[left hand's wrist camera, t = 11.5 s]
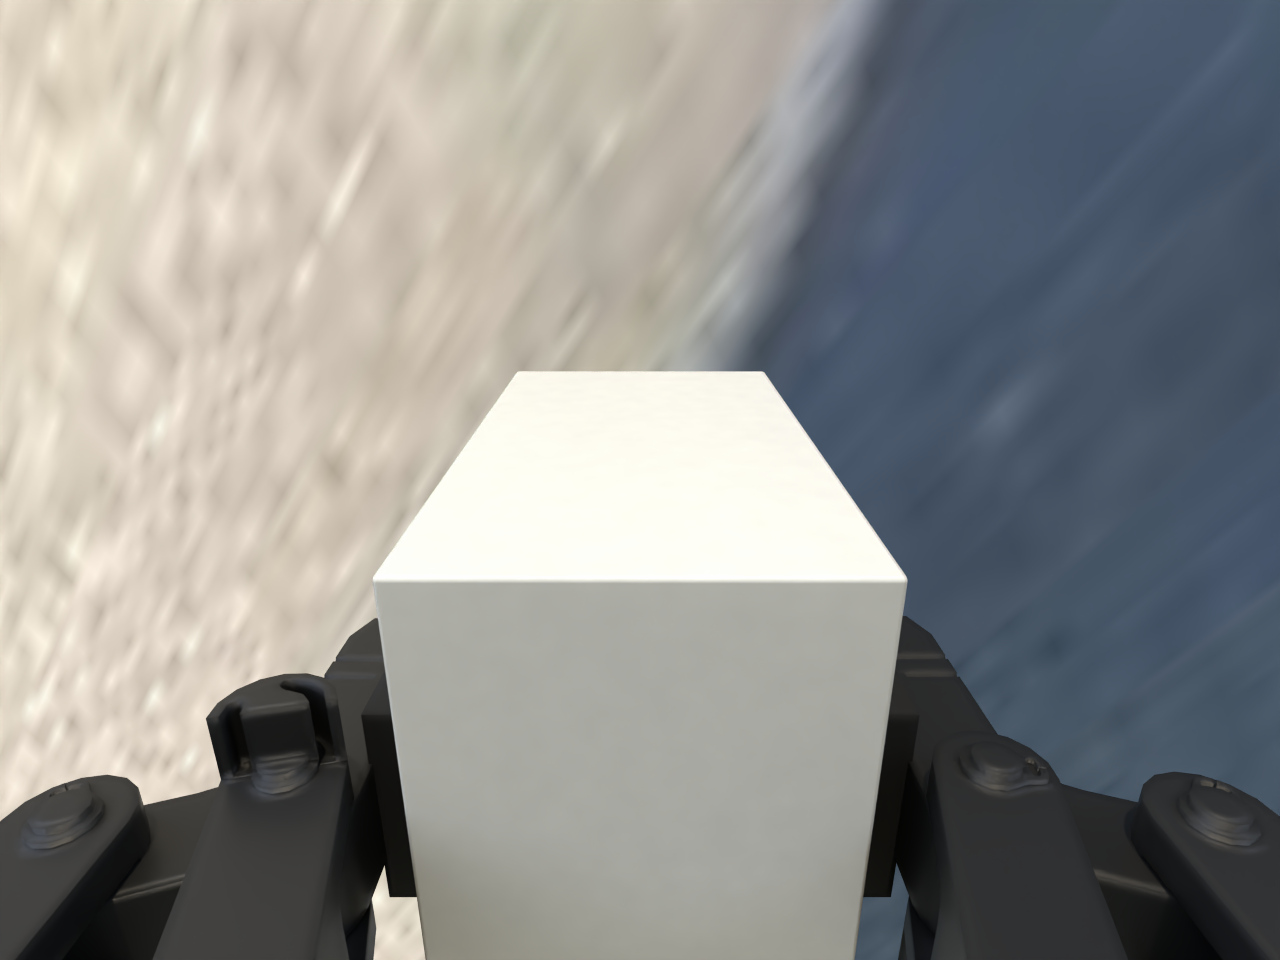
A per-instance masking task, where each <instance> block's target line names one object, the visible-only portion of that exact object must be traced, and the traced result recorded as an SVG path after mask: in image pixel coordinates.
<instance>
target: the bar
mask: <svg viewBox="0 0 1280 960" xmlns="http://www.w3.org/2000/svg"><path fill="white" fill-rule="evenodd" d="M373 587H374V594H375V601H376V608H377V615H378V622H379V630H380V637H381V644H382V651H383V658H384V665H385V672H386V680H387V687H388V694H389V701H390V708H391V715H392V722H393V729H394V737H395V744H396V751H397V758H398V765H399V772H400V779H401V787H402V794H403V801H404V808H405V815H406V822H407V829H408V837H409V844H410V851H411V858H412V865H413V872H414V879H415V886H416V894H417V901H418V908H419V915H420V922H421V929H422V936H423V944H424V951H425V958H426V960H854V958H855V951H856V944H857V936H858V929H859V922H860V915H861V908H862V901H863V894H864V887H865V880H866V872H867V865H868V858H869V851H870V844H871V837H872V830H873V823H874V815H875V808H876V801H877V794H878V787H879V780H880V773H881V766H882V759H883V751H884V744H885V737H886V730H887V723H888V716H889V709H890V702H891V694H892V687H893V680H894V673H895V666H896V659H897V652H898V645H899V638H900V630H901V623H902V616H903V609H904V602H905V595H906V588H907V578H906V576H905V574H904V573H903V571H902V570H901V568H900V567H899V565H898V564H897V563H896V561H895V560H894V558H893V557H892V555H891V554H890V553H889V551H888V550H887V548H886V547H885V545H884V544H883V543H882V541H881V540H880V538H879V537H878V535H877V534H876V532H875V531H874V530H873V528H872V527H871V525H870V524H869V522H868V521H867V520H866V518H865V517H864V515H863V514H862V512H861V511H860V509H859V508H858V507H857V505H856V504H855V502H854V501H853V499H852V498H851V497H850V495H849V494H848V492H847V491H846V489H845V488H844V486H843V485H842V484H841V482H840V481H839V479H838V478H837V476H836V475H835V474H834V472H833V471H832V469H831V468H830V466H829V465H828V464H827V462H826V461H825V459H824V458H823V456H822V455H821V453H820V452H819V451H818V449H817V448H816V446H815V445H814V443H813V442H812V441H811V439H810V438H809V436H808V435H807V433H806V432H805V430H804V429H803V428H802V426H801V425H800V423H799V422H798V420H797V419H796V418H795V416H794V415H793V413H792V412H791V410H790V409H789V408H788V406H787V405H786V403H785V402H784V400H783V399H782V397H781V396H780V395H779V393H778V392H777V390H776V389H775V387H774V386H773V385H772V383H771V382H770V380H769V379H768V377H767V376H766V374H765V373H764V372H517V373H516V375H515V376H514V377H513V379H512V380H511V382H510V383H509V384H508V386H507V387H506V389H505V390H504V392H503V393H502V394H501V396H500V397H499V399H498V400H497V402H496V403H495V404H494V406H493V407H492V409H491V410H490V412H489V413H488V414H487V416H486V417H485V419H484V420H483V421H482V423H481V424H480V426H479V427H478V429H477V430H476V431H475V433H474V434H473V436H472V437H471V439H470V440H469V441H468V443H467V444H466V446H465V447H464V449H463V450H462V451H461V453H460V454H459V456H458V457H457V459H456V460H455V461H454V463H453V464H452V466H451V467H450V468H449V470H448V471H447V473H446V474H445V476H444V477H443V478H442V480H441V481H440V483H439V484H438V486H437V487H436V488H435V490H434V491H433V493H432V494H431V496H430V497H429V498H428V500H427V501H426V503H425V504H424V506H423V507H422V508H421V510H420V511H419V513H418V514H417V515H416V517H415V518H414V520H413V521H412V523H411V524H410V525H409V527H408V528H407V530H406V531H405V533H404V534H403V535H402V537H401V538H400V540H399V541H398V543H397V544H396V545H395V547H394V548H393V550H392V551H391V552H390V554H389V555H388V557H387V558H386V560H385V561H384V562H383V564H382V565H381V567H380V568H379V570H378V571H377V572H376V574H375V575H374V577H373Z"/></svg>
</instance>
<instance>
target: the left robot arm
mask: <svg viewBox="0 0 1280 960" xmlns="http://www.w3.org/2000/svg"><path fill="white" fill-rule="evenodd" d="M956 673H957V672H956V671H955V669H954V668H953V666H952V665H951V663H950V662H949V660H948V659H945V654H944V653H943V651H942V650H941V648H940V647H939V645H938V644H937V642H936V641H935V639H934V638H933V636H932V635H931V634H930V633H929V632H928V631H926V630H925V629H923V628H922V627H921V626H919V625H918V624H916V623H915V622H914V621H912V620H911V619H909V618H908V617H907V616H902V623H901V630H900V638H899V645H898V652H897V659H896V666H895V673H894V680H893V687H892V694H891V702H890V709H889V716H888V723H887V730H886V737H885V744H884V751H883V759H882V766H881V773H880V780H879V787H878V794H877V801H876V808H875V815H874V823H873V830H872V837H871V844H870V851H869V858H868V865H867V872H866V880H865V887H864V894H863V897H891V893H892V886H893V880H894V874H895V867H896V863H897V865H898V868H899V870H900V873H901V876H902V878H903V881H904V883H905V886H906V889H907V891H908V894H909V899H908V904H907V910H906V916H905V922H904V928H903V934H902V940H901V946H900V951H899V957H898V960H1280V816H1278V815H1277V814H1276V813H1274V812H1273V811H1272V810H1270V809H1269V808H1268V807H1267V806H1265V805H1264V804H1263V803H1261V802H1260V801H1259V800H1258V799H1256V798H1254V797H1252V796H1250V795H1248V794H1246V793H1244V792H1243V791H1241V790H1239V789H1237V788H1235V787H1233V786H1231V785H1229V784H1226V783H1223V782H1221V781H1218V780H1214V779H1212V778H1208V777H1205V776H1202V775H1196V774H1188V773H1180V772H1170V773H1164V774H1158V775H1154V776H1153V777H1152V778H1151V779H1149V780H1148V781H1147V782H1146V783H1145V784H1143V788H1142V791H1141V794H1140V798H1139V801H1138V802H1133V801H1129V800H1125V799H1120V798H1116V797H1111V796H1107V795H1102V794H1098V793H1093V792H1089V791H1084V790H1081V789H1077V788H1074V787H1071V786H1067V785H1064V784H1061V783H1060V780H1059V778H1058V777H1057V775H1056V774H1055V772H1054V771H1053V769H1052V768H1051V766H1050V765H1049V763H1048V762H1047V761H1045V760H1044V759H1043V758H1042V757H1040V756H1039V755H1038V754H1037V753H1035V752H1034V751H1033V750H1032V749H1030V748H1029V747H1027V746H1025V745H1022V744H1020V743H1018V742H1016V741H1014V740H1012V739H1010V738H1008V737H1005V736H1001V735H998V734H997V733H996V731H995V730H994V728H993V727H992V725H991V724H990V722H989V721H988V719H987V718H986V716H985V715H984V713H983V712H982V710H981V709H980V707H979V706H978V704H977V703H976V701H975V700H974V698H973V697H972V695H971V694H970V692H969V691H968V689H967V687H966V686H965V684H964V683H963V681H962V680H961V678H960V677H957V675H956ZM206 721H207V725H208V729H209V733H210V737H211V741H212V745H213V749H214V753H215V757H216V761H217V765H218V769H219V773H220V777H221V782H220V784H219V787H217V788H214V789H210V790H207V791H204V792H200V793H196V794H192V795H188V796H183V797H179V798H174V799H170V800H165V801H161V802H156V803H152V804H148V805H143V802H142V799H141V795H140V792H139V789H138V787H137V786H136V785H135V784H133V783H132V782H131V781H130V780H129V779H127V778H123V777H117V776H111V775H102V776H94V777H86V778H80V779H77V780H74V781H71V782H68V783H64V784H61V785H59V786H56V787H53V788H51V789H49V790H47V791H45V792H43V793H41V794H39V795H38V796H36V797H34V798H32V799H30V800H28V801H26V802H24V803H23V804H22V805H21V806H19V807H18V808H17V809H15V810H14V811H13V812H12V813H10V814H9V815H8V816H7V817H5V818H4V819H3V820H1V821H0V960H373V957H374V946H375V935H376V923H375V917H374V910H373V904H372V896H373V894H374V891H375V889H376V886H377V883H378V881H379V878H380V875H381V873H382V870H383V868H384V865H385V870H386V877H387V883H388V889H389V896H390V897H417V894H416V886H415V879H414V872H413V865H412V858H411V851H410V844H409V837H408V829H407V822H406V815H405V808H404V801H403V794H402V787H401V779H400V772H399V765H398V758H397V751H396V744H395V737H394V729H393V722H392V715H391V708H390V701H389V694H388V687H387V680H386V672H385V665H384V658H383V651H382V644H381V637H380V630H379V622H378V618H375V619H373V620H372V621H370V622H369V623H368V624H366V625H365V626H364V627H362V628H361V629H359V630H358V631H357V632H355V633H354V634H352V635H351V636H350V637H349V638H348V640H347V641H346V643H345V644H344V646H343V647H342V649H341V651H340V652H339V654H338V655H337V657H336V662H333V663H332V664H331V666H330V667H329V669H328V670H327V672H326V673H325V677H324V678H323V677H319V676H315V675H311V674H307V673H306V674H282V675H278V676H274V677H269V678H265V679H261V680H258V681H256V682H253V683H251V684H249V685H246V686H244V687H242V688H240V689H237V690H236V691H234V692H233V693H231V694H230V695H229V696H227V697H226V698H224V699H223V700H221V701H220V702H219V703H217V705H216V706H215V707H214V709H213V710H212V711H211V713H210V714H209V715H208V716H207V718H206Z"/></svg>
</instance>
